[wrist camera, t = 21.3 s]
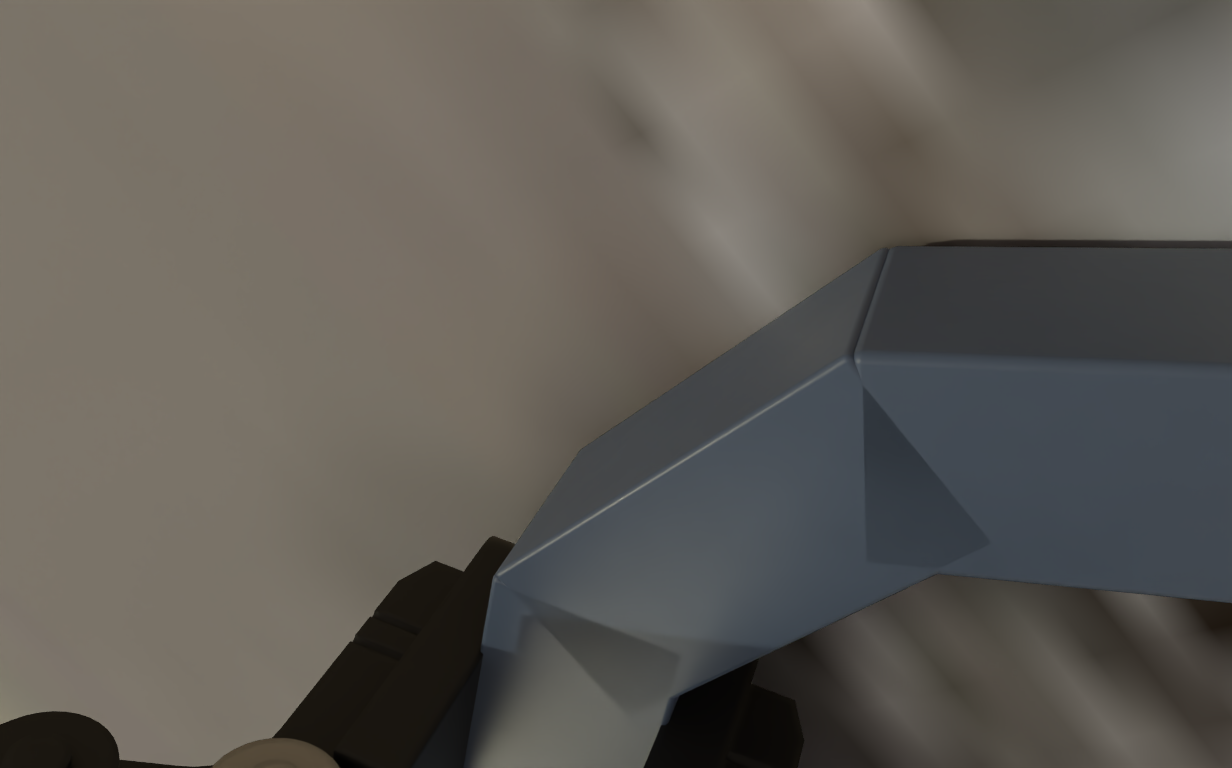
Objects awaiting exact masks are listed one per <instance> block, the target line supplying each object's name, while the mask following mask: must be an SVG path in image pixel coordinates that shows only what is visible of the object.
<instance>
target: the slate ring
mask: <svg viewBox="0 0 1232 768" xmlns="http://www.w3.org/2000/svg"><path fill="white" fill-rule="evenodd" d="M936 574H943V575H953V576H963V577H973V578H984V579H994V580H1004V581H1014V582H1024V583H1034V584H1044V585H1054V586H1065V587H1075V588H1085V589H1095V590H1105V591H1115V592H1125V593H1135V594H1146V595H1156V596H1166V597H1176V598H1186V599H1196V600H1206V601H1216V602H1227V603H1232V249H1208V248H1073V247H937V246H897V247H894V248H891V249H888V248H882V249H880V250H878V251H877V252H875V253H874V254H872V255H871V256H869V257H868V258H866V259H865V260H863V261H862V262H860V263H859V264H857V265H856V266H854V267H853V268H851V269H850V270H848V271H847V272H845V273H844V274H842V275H841V276H839V277H838V278H836V279H835V280H833V281H832V282H830V283H829V284H827V285H826V286H824V287H823V288H821V289H820V290H818V291H817V292H815V293H814V294H812V295H811V296H809V297H808V298H806V299H805V300H803V301H802V302H800V303H799V304H797V305H796V306H795V307H793V308H792V309H790V310H789V311H787V312H786V313H784V314H783V315H781V316H780V317H778V318H777V319H775V320H774V321H772V322H771V323H769V324H768V325H766V326H765V327H763V328H762V329H760V330H759V331H757V332H756V333H754V334H753V335H751V336H750V337H748V338H747V339H745V340H744V341H742V342H741V343H739V344H738V345H736V346H735V347H733V348H732V349H730V350H729V351H727V352H726V353H724V354H723V355H721V356H720V357H718V358H717V359H715V360H714V361H712V362H711V363H709V364H708V365H706V366H705V367H703V368H702V369H700V370H699V371H697V372H696V373H694V374H693V375H691V376H690V377H688V378H687V379H685V380H684V381H682V382H681V383H679V384H678V385H677V386H675V387H674V388H672V389H671V390H669V391H668V392H666V393H665V394H663V395H662V396H660V397H659V398H657V399H656V400H654V401H653V402H651V403H650V404H648V405H647V406H645V407H644V408H642V409H641V410H639V411H638V412H636V413H635V414H633V415H632V416H630V417H629V418H627V419H626V420H624V421H623V422H621V423H620V424H618V425H617V426H615V427H614V428H612V429H611V430H609V431H608V432H606V433H605V434H603V435H602V436H600V437H599V438H597V439H596V440H594V441H593V442H591V443H590V444H588V445H587V446H585V447H584V448H582V449H581V450H580V451H579V453H578V454H577V456H576V457H575V459H574V460H573V461H572V463H571V464H570V466H569V467H568V469H567V470H566V472H565V473H564V475H563V476H562V477H561V479H560V480H559V482H558V483H557V485H556V486H555V488H554V489H553V490H552V492H551V493H550V495H549V496H548V498H547V499H546V501H545V502H544V504H543V505H542V506H541V508H540V509H539V511H538V512H537V514H536V515H535V517H534V518H533V520H532V521H531V522H530V524H529V525H528V527H527V528H526V530H525V531H524V533H523V534H522V536H521V537H520V538H519V540H518V541H517V543H516V544H515V546H514V547H513V549H512V550H511V552H510V553H509V554H508V556H507V557H506V559H505V560H504V562H503V563H502V565H501V566H500V567H499V569H498V571H497V572H496V574H495V575H494V576H493V580H492V586H491V591H490V597H489V603H488V609H487V614H486V620H485V626H484V632H483V637H482V643H481V652H482V653H483V659H482V665H481V670H480V676H479V682H478V687H477V693H476V698H475V704H474V710H473V715H472V721H471V727H470V732H469V738H468V744H467V749H466V755H465V761H464V766H463V768H644V766H645V763H646V761H647V758H648V756H649V753H650V751H651V749H652V746H653V744H654V741H655V739H656V736H657V734H658V731H659V729H660V727H661V725H666V724H667V723H669V720H670V718H671V715H672V713H673V710H674V708H675V705H676V703H677V700H678V698H679V696H680V695H682V694H684V693H686V692H688V691H690V690H692V689H695V688H697V687H699V686H701V685H703V684H705V683H707V682H709V681H711V680H714V679H716V678H718V677H720V676H722V675H724V674H726V673H728V672H731V671H733V670H735V669H737V668H739V667H741V666H743V665H745V664H747V663H750V662H752V661H754V660H756V659H758V658H760V657H762V656H764V655H766V654H769V653H771V652H773V651H775V650H777V649H779V648H781V647H783V646H786V645H788V644H790V643H792V642H794V641H796V640H798V639H800V638H802V637H805V636H807V635H809V634H811V633H813V632H815V631H817V630H819V629H821V628H824V627H826V626H828V625H830V624H832V623H834V622H836V621H838V620H841V619H843V618H845V617H847V616H849V615H851V614H853V613H855V612H857V611H860V610H862V609H864V608H866V607H868V606H870V605H872V604H874V603H877V602H879V601H881V600H883V599H885V598H887V597H889V596H891V595H893V594H896V593H898V592H900V591H902V590H904V589H906V588H908V587H910V586H912V585H915V584H917V583H919V582H921V581H923V580H925V579H927V578H929V577H932V576H934V575H936Z"/></svg>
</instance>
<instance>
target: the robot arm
mask: <svg viewBox="0 0 1232 768" xmlns="http://www.w3.org/2000/svg"><path fill="white" fill-rule="evenodd" d="M514 546H515V544H514V543H511V542H508V541H506V540H503V539H500V538H498V537H495V536H492V537H490V538H489V539H488V540H487V541H486V542H485V543H484V545H483V546H482V547H481V549H480V550H479V552H478V553H477V554H476V556H475V557H474V558H473V560H472V561H471V563H470V564H469V565H468V567H467V568H466V569H465V571H464V572H463V571H460V570H458V569H455V568H453V567H450V566H447V565H445V564H442V563H440V562H437V561H434V562H432V563H431V564H429V565H427V566H425V567H423V568H421V569H420V570H418V571H416V572H414V573H412V574H410V575H409V576H407V577H405V578H403V579H401V580H399V581H398V582H397V584H396V585H395V586H394V587H393V589H392V590H391V591H390V592H389V594H388V595H387V596H386V597H385V599H384V600H383V601H382V602H381V604H380V605H379V606H378V607H377V609H376V610H375V612H374V615H373V617H369V619H368V620H367V621H366V622H365V624H364V625H363V626H362V627H361V629H360V630H359V631H358V632H357V634H356V635H355V638H354V640H353V642H351V641H350V642H349V644H348V645H347V646H346V647H345V649H344V650H343V651H342V652H341V654H340V655H339V656H338V658H337V659H336V660H335V661H334V663H333V664H332V665H331V666H330V668H329V669H328V670H327V671H326V673H325V674H324V675H323V676H322V678H321V679H320V680H319V681H318V683H317V684H316V685H315V686H314V688H313V689H312V690H311V691H310V693H309V694H308V695H307V696H306V698H305V699H304V700H303V701H302V703H301V704H300V705H299V706H298V708H297V709H296V710H295V711H294V713H293V714H292V715H291V716H290V718H289V719H288V720H287V721H286V723H285V724H284V725H283V726H282V728H281V729H280V730H279V731H278V732H277V733H276V734H275V735H274V736H273V737H272V738H270V739H263V740H257V741H254V742H251V743H247V744H245V745H242V746H240V747H238V748H236V749H234V750H232V751H231V752H229V753H227V754H226V755H224V756H223V757H222V758H221V759H220V760H218V761H217V762H216V763H215V764H214V765H211V766H200V767H187V766H174V765H164V764H155V763H146V762H136V761H127V760H119V752H118V747H117V744H116V742H115V740H114V737H113V736H112V735H111V733H110V732H109V731H108V730H107V729H106V728H105V727H104V726H103V725H101V724H100V723H99V722H97V721H95V720H93V719H91V718H89V717H86V716H83V715H80V714H76V713H70V712H56V711H52V712H41V713H35V714H31V715H26V716H23V717H20V718H17V719H14V720H11V721H8V722H6V723H3V724H1V725H0V768H463V766H464V761H465V755H466V749H467V744H468V738H469V732H470V727H471V721H472V715H473V710H474V704H475V698H476V693H477V687H478V682H479V676H480V670H481V665H482V659H483V653H482V652H481V643H482V637H483V632H484V626H485V620H486V614H487V609H488V603H489V597H490V591H491V586H492V580H493V576H494V575H495V574H496V572H497V571H498V569H499V567H500V566H501V565H502V563H503V562H504V560H505V559H506V557H507V556H508V554H509V553H510V552H511V550H512V549H513V547H514ZM758 660H759V658H758V659H756V660H754V661H752V662H750V663H747V664H745V665H743V666H741V667H739V668H737V669H735V670H733V671H731V672H728V673H726V674H724V675H722V676H720V677H718V678H716V679H714V680H711V681H709V682H707V683H705V684H703V685H701V686H699V687H697V688H695V689H692V690H690V691H688V692H686V693H684V694H682V695H680V696H679V698H678V700H677V703H676V705H675V708H674V710H673V713H672V715H671V718H670V720H669V723H667V724H666V725H661V727H660V729H659V731H658V734H657V736H656V739H655V741H654V744H653V746H652V749H651V751H650V753H649V756H648V758H647V761H646V763H645V766H644V768H797V767H798V763H799V759H800V755H801V752H802V748H803V744H804V737H803V733H802V729H801V725H800V720H799V716H798V712H797V707H796V703H795V700H792V699H790V698H787V697H785V696H782V695H780V694H777V693H774V692H772V691H769V690H767V689H764V688H762V687H759V686H756V685H754V684H751V681H752V678H753V675H754V672H755V669H756V666H757V663H758Z"/></svg>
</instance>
